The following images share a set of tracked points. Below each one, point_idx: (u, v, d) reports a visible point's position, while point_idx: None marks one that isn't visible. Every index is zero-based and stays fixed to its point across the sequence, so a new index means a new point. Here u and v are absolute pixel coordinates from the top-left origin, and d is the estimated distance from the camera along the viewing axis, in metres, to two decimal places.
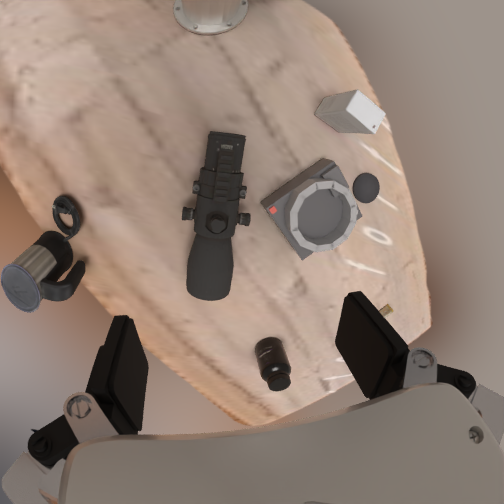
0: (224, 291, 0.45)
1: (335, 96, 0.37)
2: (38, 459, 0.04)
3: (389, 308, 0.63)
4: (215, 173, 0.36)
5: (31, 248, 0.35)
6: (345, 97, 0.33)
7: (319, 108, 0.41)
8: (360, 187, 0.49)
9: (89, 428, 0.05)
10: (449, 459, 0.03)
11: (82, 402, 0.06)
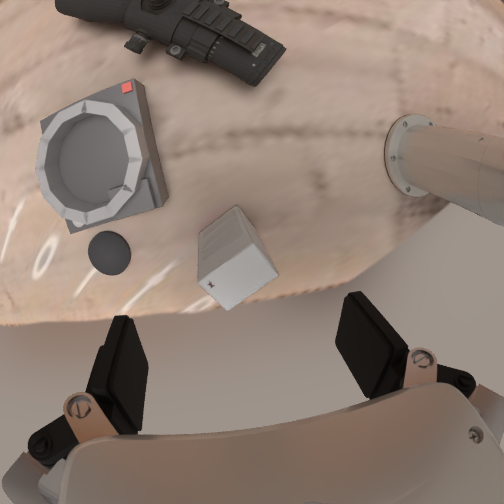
0: None
1: (261, 241, 0.30)
2: (38, 459, 0.04)
3: None
4: None
5: None
6: (265, 252, 0.25)
7: None
8: (111, 243, 0.31)
9: (89, 428, 0.05)
10: (449, 459, 0.03)
11: (82, 402, 0.06)
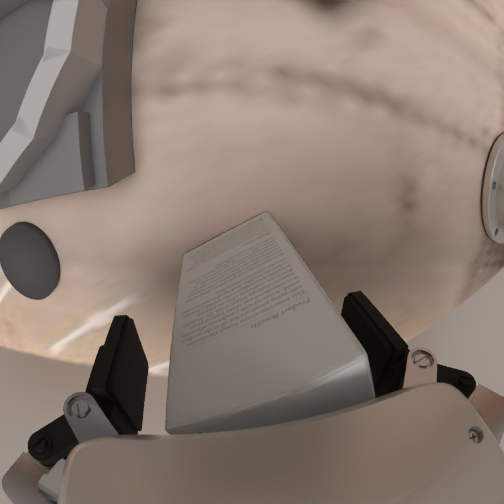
0: None
1: None
2: (38, 459, 0.04)
3: None
4: None
5: None
6: None
7: None
8: (29, 247, 0.14)
9: (89, 428, 0.05)
10: (449, 459, 0.03)
11: (82, 402, 0.06)
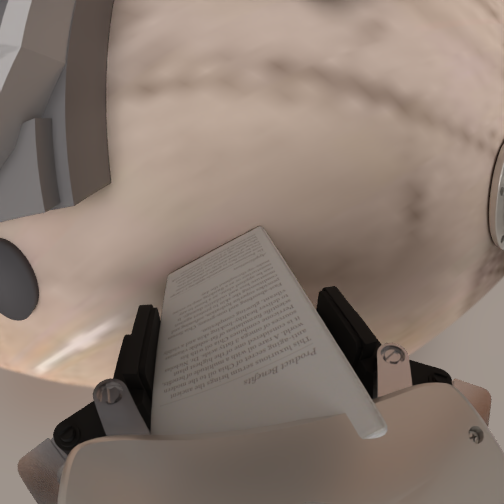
0: None
1: None
2: (62, 448, 0.05)
3: None
4: None
5: None
6: None
7: None
8: (5, 265, 0.12)
9: (116, 415, 0.06)
10: (449, 459, 0.03)
11: (114, 389, 0.07)
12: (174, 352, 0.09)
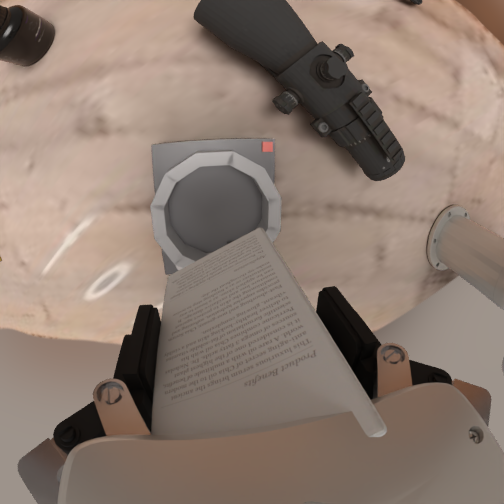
0: (214, 5, 0.16)
1: None
2: (62, 448, 0.05)
3: None
4: None
5: None
6: None
7: None
8: None
9: (116, 415, 0.06)
10: (449, 459, 0.03)
11: (114, 388, 0.07)
12: (175, 354, 0.09)
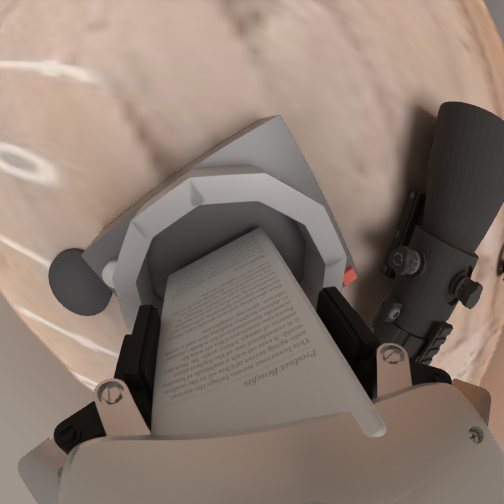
0: (488, 129, 0.11)
1: None
2: (63, 448, 0.05)
3: None
4: None
5: None
6: None
7: None
8: (95, 288, 0.19)
9: (117, 415, 0.06)
10: (449, 459, 0.03)
11: (114, 388, 0.07)
12: (174, 353, 0.09)
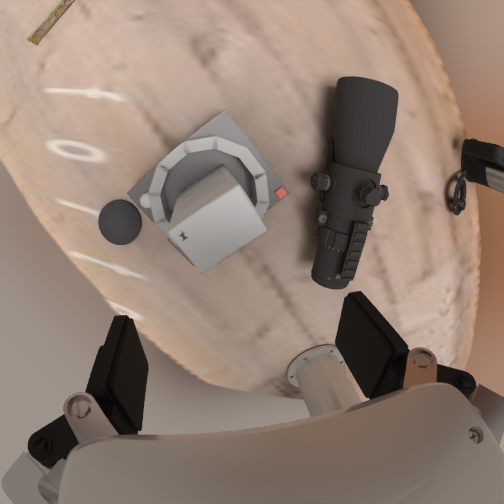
0: (361, 88, 0.23)
1: None
2: (38, 459, 0.04)
3: (34, 39, 0.17)
4: None
5: (498, 190, 0.33)
6: None
7: None
8: (131, 223, 0.32)
9: (89, 428, 0.05)
10: (449, 459, 0.03)
11: (82, 402, 0.06)
12: (181, 204, 0.23)
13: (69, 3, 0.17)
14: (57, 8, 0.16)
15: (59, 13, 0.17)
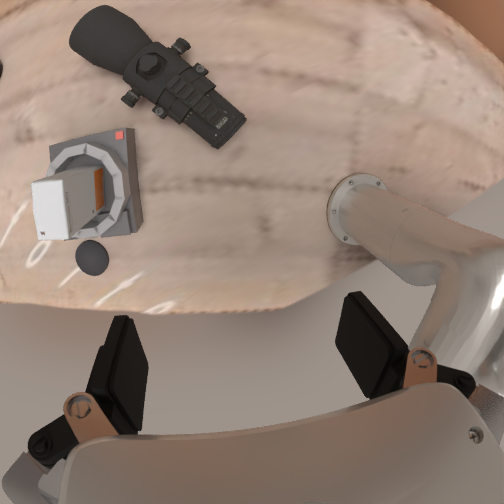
0: (75, 40, 0.19)
1: (85, 169, 0.25)
2: (38, 459, 0.04)
3: None
4: (202, 93, 0.26)
5: None
6: (62, 175, 0.21)
7: (82, 166, 0.28)
8: (94, 251, 0.38)
9: (89, 428, 0.05)
10: (449, 459, 0.03)
11: (82, 402, 0.06)
12: None
13: None
14: None
15: None
